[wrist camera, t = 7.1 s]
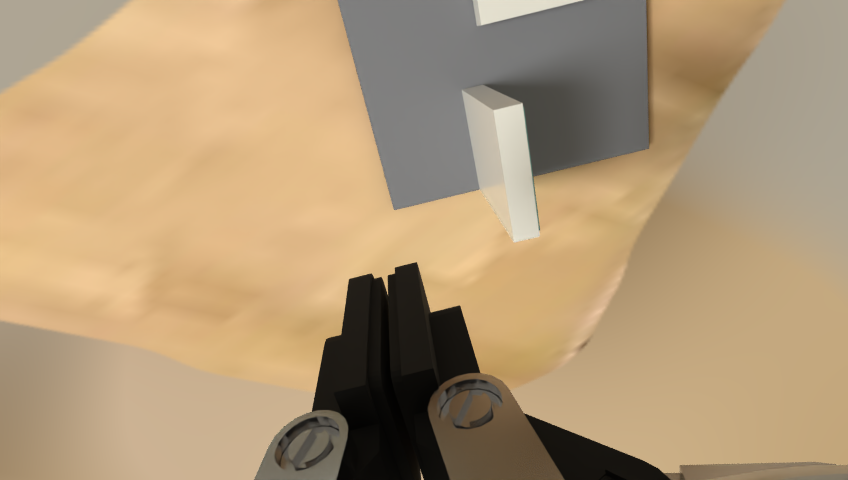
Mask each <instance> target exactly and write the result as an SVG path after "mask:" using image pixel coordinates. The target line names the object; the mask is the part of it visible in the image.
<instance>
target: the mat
mask: <svg viewBox="0 0 848 480" xmlns="http://www.w3.org/2000/svg"><path fill="white" fill-rule="evenodd" d="M338 3H339V7H340V11H341V15H342V18H343V22H344V26H345V29H346V33H347V37H348V41H349V44H350V48H351V52H352V55H353V59H354V63H355V67H356V70H357V74H358V78H359V81H360V85H361V89H362V93H363V96H364V100H365V104H366V107H367V111H368V115H369V119H370V122H371V126H372V130H373V134H374V137H375V141H376V145H377V148H378V152H379V156H380V160H381V163H382V167H383V171H384V174H385V178H386V182H387V186H388V189H389V193H390V197H391V200H392V204H393V208H394V210H397V209H401V208H405V207H409V206H414V205H418V204H422V203H426V202H430V201H434V200H438V199H442V198H447V197H451V196H455V195H459V194H463V193H467V192H471V191H476V190H480V188H479V183H478V177H477V172H476V166H475V161H474V155H473V150H472V144H471V139H470V133H469V128H468V122H467V117H466V111H465V106H464V100H463V95H462V89H466V88H471V87H475V86H479V85H484V86H487V87H489V88H491V89H493V90H495V91H497V92H500V93H502V94H504V95H506V96H508V97H510V98H512V99H515V100H517V101H519V102H521V103H523V107H524V109H525V117H526V125H527V133H528V140H529V148H530V156H531V164H532V171H533V176H538V175H542V174H546V173H550V172H554V171H558V170H562V169H567V168H571V167H575V166H579V165H583V164H587V163H591V162H595V161H600V160H604V159H608V158H612V157H616V156H620V155H624V154H629V153H633V152H637V151H641V150H645V149H649V126H648V73H647V19H646V0H582V1H578V2H574V3H570V4H566V5H562V6H558V7H554V8H550V9H546V10H542V11H538V12H534V13H530V14H526V15H522V16H518V17H514V18H509V19H505V20H501V21H497V22H493V23H489V24H485V25H481V26H477V24H476V18H475V12H474V5H473V0H338Z"/></svg>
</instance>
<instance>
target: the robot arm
mask: <svg viewBox="0 0 848 480" xmlns="http://www.w3.org/2000/svg"><path fill="white" fill-rule="evenodd" d="M420 469H421V472H422V475H423V478H424V480H848V465H836V464H827V463H819V462H798V463H797V462H795V463H755V464H715V465H714V464H713V465H680V473H663V472H661V471H660V470H659V469H658V468H656V467H654V466H652V465H651V464H649V463H647V462H645V461H643V460H640V459H638V458H635V457H633V456H630V455H628V454H625V453H623V452H620V451H618V450H615V449H613V448H610V447H608V446H605V445H602V444H600V443H598V442H595V441H592V440H590V439H587V438H585V437H582V436H580V435H577V434H575V433H572V432H570V431H567V430H565V429H562V428H560V427H557V426H555V425H552V424H550V423H547V422H545V421H542V420H539V419H537V418H535V417H532V416H529V415H527V414H524V413H523V411H522V410H521V408H520V406H519V405H518V403H517V401H516V400H515V398H514V397H513V395H512V393H511V392H510V390H509V388H508V387H507V386H506V385H505V384H504V383H503V382H502V381H501V380H499V379H497V378H496V377H494V376H492V375H487V374H482V373H480V370H479V367H478V364H477V360H476V357H475V354H474V350H473V347H472V344H471V340H470V337H469V334H468V330H467V327H466V324H465V320H464V317H463V314H462V310H461V307H460V306H456V307H452V308H448V309H444V310H440V311H436V312H432V313H431V312H430V308H429V305H428V301H427V297H426V294H425V290H424V286H423V282H422V279H421V275H420V271H419V268H418V264H417V262H415V263H411V264H407V265H403V266H399V267H395V274H392V275H388V295H387V291H386V288H385V285H384V282H383V279H382V277H380V278H376V279H374V277H373V275H372V274H367V275H363V276H359V277H355V278H351V279H349V283H348V291H347V298H346V305H345V312H344V319H343V327H342V334H341V335H339V336H335V337H331V338H328V339H326V341H325V345H324V350H323V355H322V361H321V366H320V371H319V376H318V382H317V387H316V392H315V398H314V403H313V408H312V412H310V413H306V414H304V415H302V416H300V417H298V418H296V419H294V420H293V421H291V422H290V423H289V424H287V425H286V426H284V427H283V429H281V430H280V432H279V433H278V434H277V435H276V436H275V437H274V439H273V440H272V442H271V444H270V445H269V447H268V449H267V452H266V454H265V456H264V458H263V461H262V463H261V465H260V467H259V470H258V472H257V475H256V477H255V479H254V480H421V473H420Z"/></svg>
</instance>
